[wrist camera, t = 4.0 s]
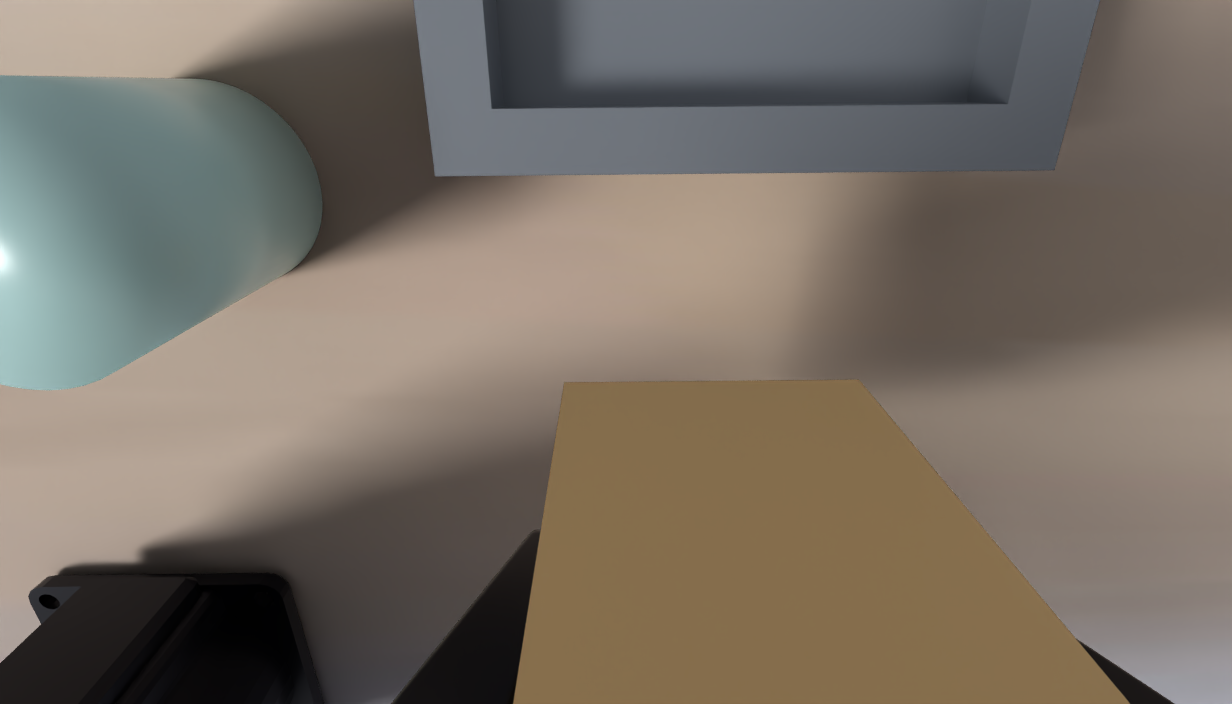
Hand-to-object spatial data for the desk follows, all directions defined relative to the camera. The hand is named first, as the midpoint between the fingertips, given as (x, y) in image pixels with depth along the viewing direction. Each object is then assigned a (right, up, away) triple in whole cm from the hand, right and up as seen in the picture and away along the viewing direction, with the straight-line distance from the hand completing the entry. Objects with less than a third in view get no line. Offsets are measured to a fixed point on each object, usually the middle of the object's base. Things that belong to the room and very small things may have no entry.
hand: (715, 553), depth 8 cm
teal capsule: (-9, +6, +4) cm, 12 cm away
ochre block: (0, 0, +1) cm, 1 cm away
